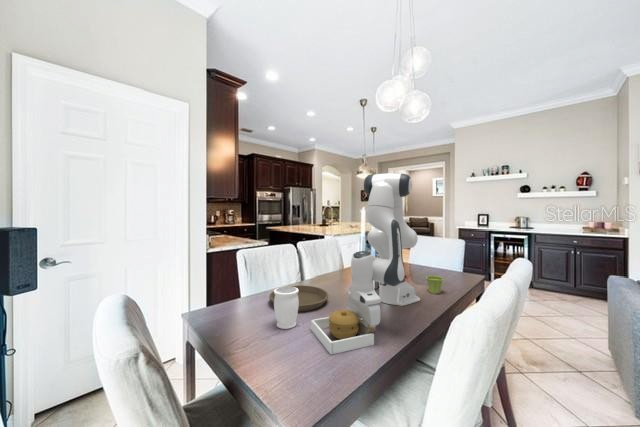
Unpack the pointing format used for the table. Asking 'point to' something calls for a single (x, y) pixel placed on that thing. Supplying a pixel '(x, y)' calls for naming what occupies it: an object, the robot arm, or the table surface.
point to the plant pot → (434, 284)
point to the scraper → (365, 328)
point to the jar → (286, 306)
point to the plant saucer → (308, 297)
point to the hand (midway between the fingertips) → (361, 327)
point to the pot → (343, 324)
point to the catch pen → (342, 344)
